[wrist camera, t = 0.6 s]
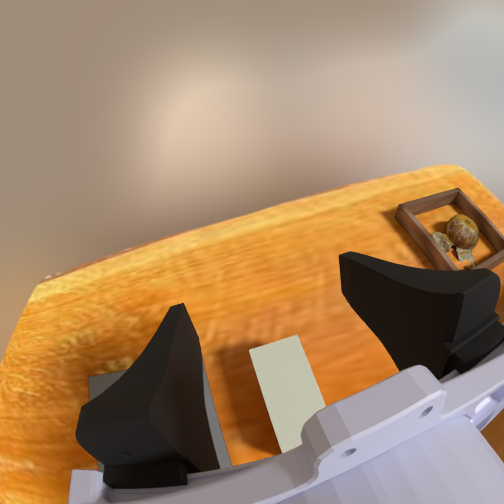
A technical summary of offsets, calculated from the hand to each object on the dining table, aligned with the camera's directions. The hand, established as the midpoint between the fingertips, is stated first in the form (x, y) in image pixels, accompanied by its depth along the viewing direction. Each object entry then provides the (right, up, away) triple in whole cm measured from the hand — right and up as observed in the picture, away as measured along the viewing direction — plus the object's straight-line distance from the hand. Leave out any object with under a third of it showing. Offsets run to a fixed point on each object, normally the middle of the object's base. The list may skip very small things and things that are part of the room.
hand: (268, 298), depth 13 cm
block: (+3, -13, +12) cm, 18 cm away
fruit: (+29, +3, +22) cm, 37 cm away
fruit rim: (+29, +4, +23) cm, 37 cm away
